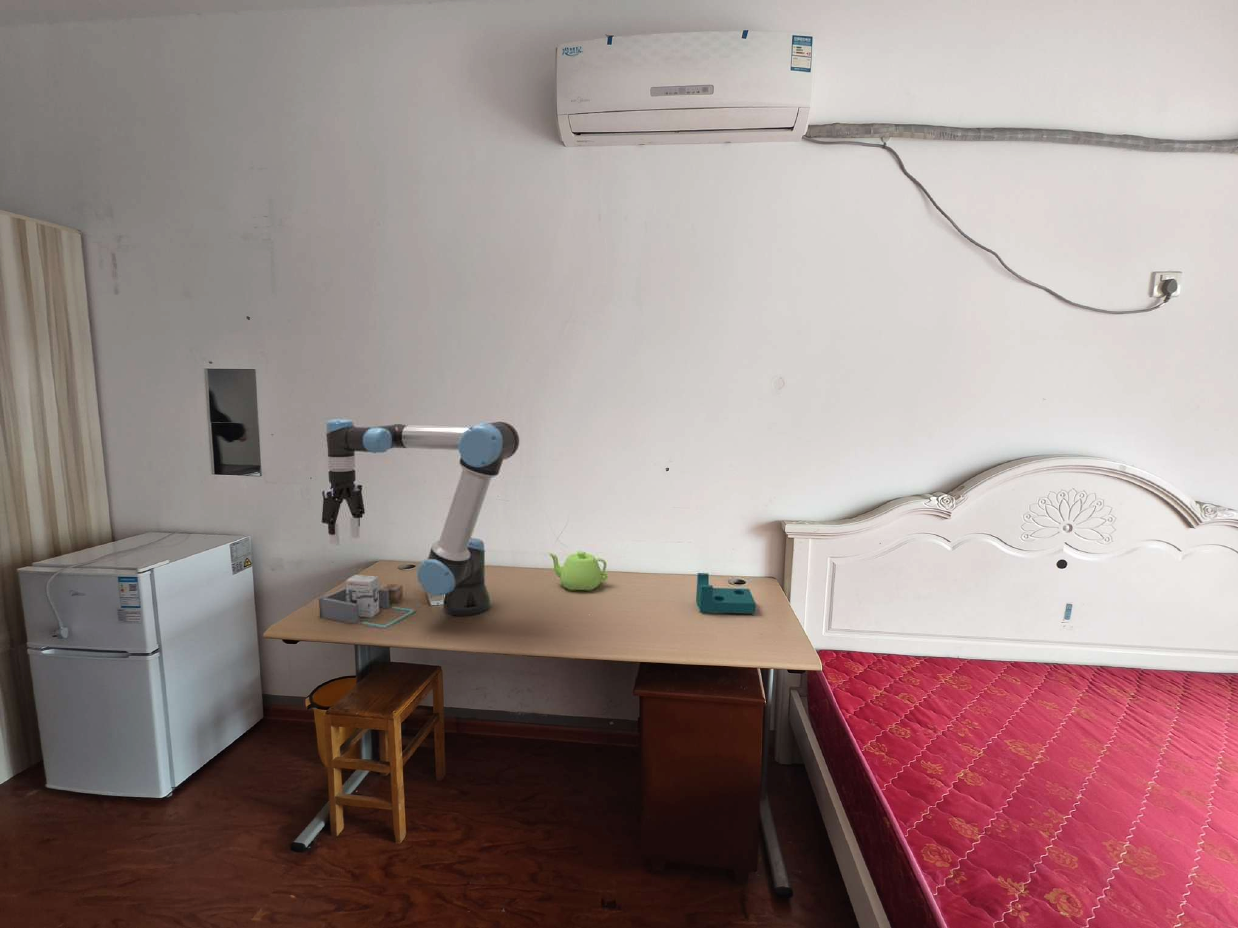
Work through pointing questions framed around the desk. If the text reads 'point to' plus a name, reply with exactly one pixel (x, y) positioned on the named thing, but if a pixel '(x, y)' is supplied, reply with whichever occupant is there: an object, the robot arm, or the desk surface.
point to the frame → (392, 621)
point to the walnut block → (394, 593)
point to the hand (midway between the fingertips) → (345, 540)
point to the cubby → (346, 606)
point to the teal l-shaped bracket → (722, 598)
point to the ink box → (363, 594)
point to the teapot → (580, 571)
